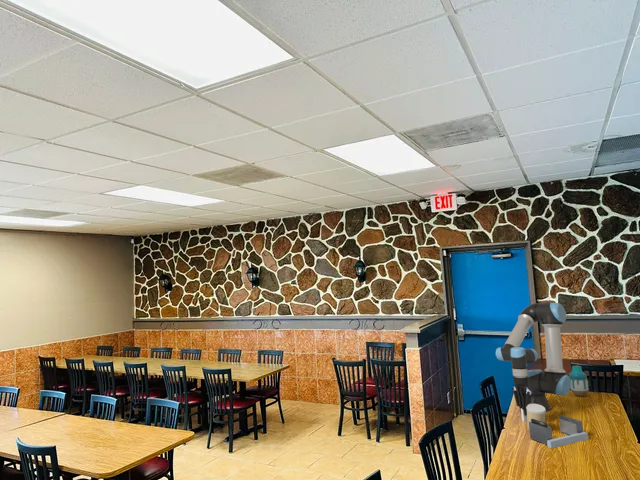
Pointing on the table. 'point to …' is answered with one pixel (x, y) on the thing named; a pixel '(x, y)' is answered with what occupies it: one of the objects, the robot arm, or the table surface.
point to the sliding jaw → (540, 431)
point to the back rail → (567, 440)
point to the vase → (578, 381)
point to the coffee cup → (535, 413)
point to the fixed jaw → (570, 425)
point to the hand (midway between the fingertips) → (524, 420)
